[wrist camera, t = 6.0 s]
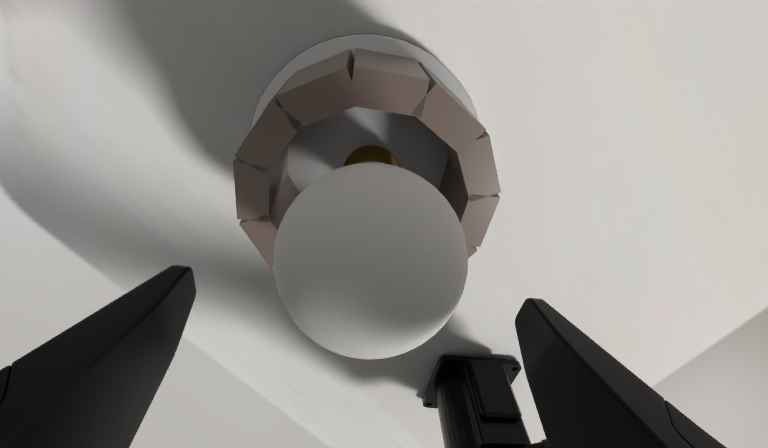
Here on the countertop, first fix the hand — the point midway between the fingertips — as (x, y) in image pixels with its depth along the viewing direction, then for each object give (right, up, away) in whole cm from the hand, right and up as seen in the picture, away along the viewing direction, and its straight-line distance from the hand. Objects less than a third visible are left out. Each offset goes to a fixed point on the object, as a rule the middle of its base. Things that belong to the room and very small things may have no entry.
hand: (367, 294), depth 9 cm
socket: (0, +5, +8) cm, 10 cm away
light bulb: (0, +5, +8) cm, 9 cm away
